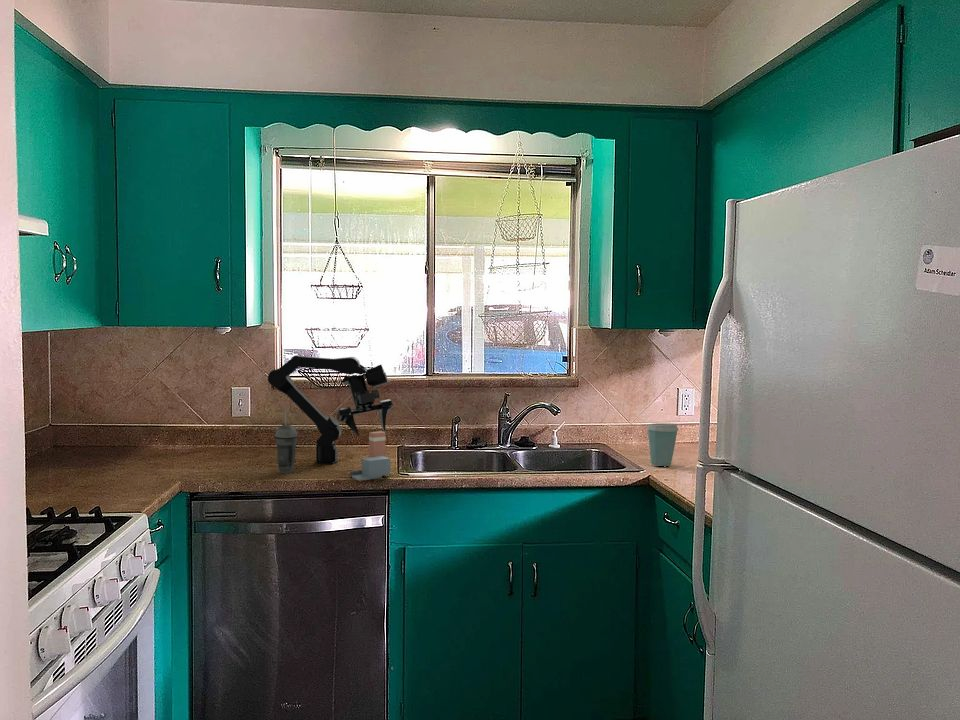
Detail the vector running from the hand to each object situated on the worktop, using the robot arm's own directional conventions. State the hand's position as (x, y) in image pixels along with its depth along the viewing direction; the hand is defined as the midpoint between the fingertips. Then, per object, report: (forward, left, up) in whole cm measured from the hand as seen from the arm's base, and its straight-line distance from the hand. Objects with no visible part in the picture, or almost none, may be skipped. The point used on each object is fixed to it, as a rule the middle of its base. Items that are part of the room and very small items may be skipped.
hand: (371, 433), depth 262 cm
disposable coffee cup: (+98, +23, -12) cm, 101 cm away
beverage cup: (-24, -14, -12) cm, 30 cm away
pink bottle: (+4, -7, -11) cm, 14 cm away
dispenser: (+4, -16, -11) cm, 20 cm away
